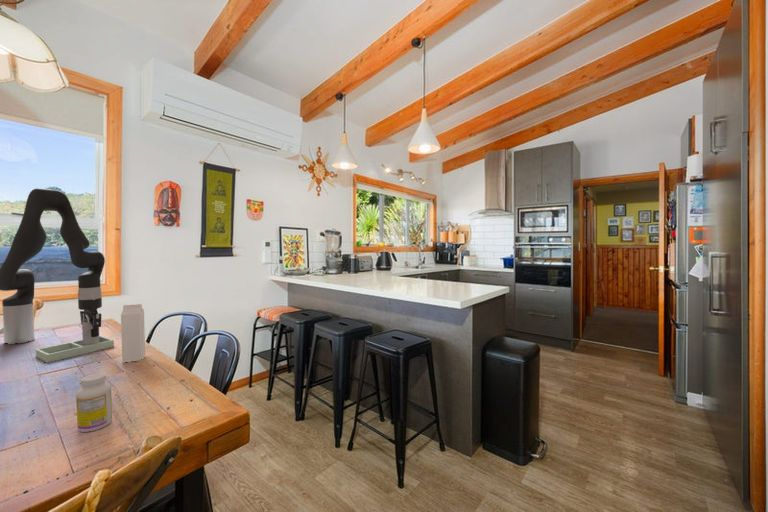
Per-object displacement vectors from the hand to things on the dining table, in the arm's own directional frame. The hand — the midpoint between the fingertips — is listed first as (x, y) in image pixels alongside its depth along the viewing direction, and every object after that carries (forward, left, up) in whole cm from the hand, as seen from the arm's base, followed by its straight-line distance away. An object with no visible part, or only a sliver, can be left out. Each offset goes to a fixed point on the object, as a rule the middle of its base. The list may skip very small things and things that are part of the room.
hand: (91, 335), depth 139 cm
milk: (+31, +2, -6) cm, 32 cm away
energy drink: (0, 0, -6) cm, 6 cm away
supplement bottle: (+74, -26, -6) cm, 79 cm away
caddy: (0, -5, -5) cm, 7 cm away
